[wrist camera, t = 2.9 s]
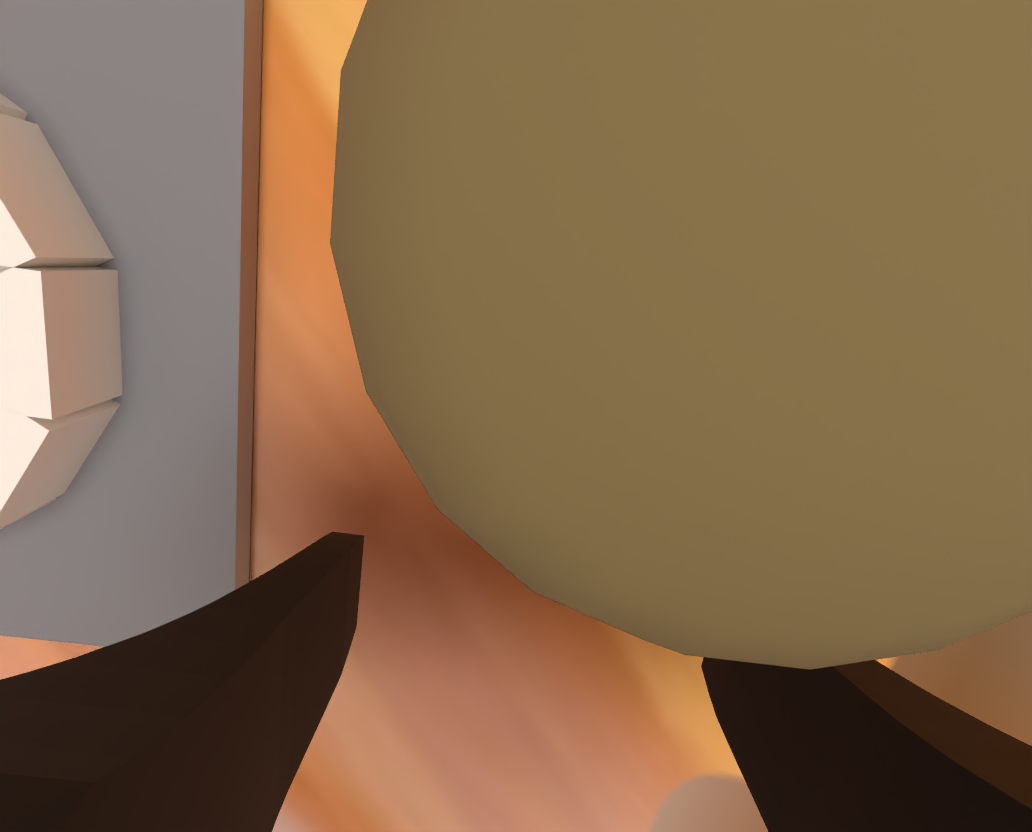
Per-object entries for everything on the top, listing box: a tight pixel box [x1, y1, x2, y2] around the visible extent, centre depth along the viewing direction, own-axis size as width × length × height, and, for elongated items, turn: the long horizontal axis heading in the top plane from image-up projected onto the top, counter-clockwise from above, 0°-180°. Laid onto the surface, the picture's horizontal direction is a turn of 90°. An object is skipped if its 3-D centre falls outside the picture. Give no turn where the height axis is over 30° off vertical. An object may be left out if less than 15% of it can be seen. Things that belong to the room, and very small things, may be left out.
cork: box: [330, 0, 1032, 670], centre depth 7 cm, size 6×6×11 cm
